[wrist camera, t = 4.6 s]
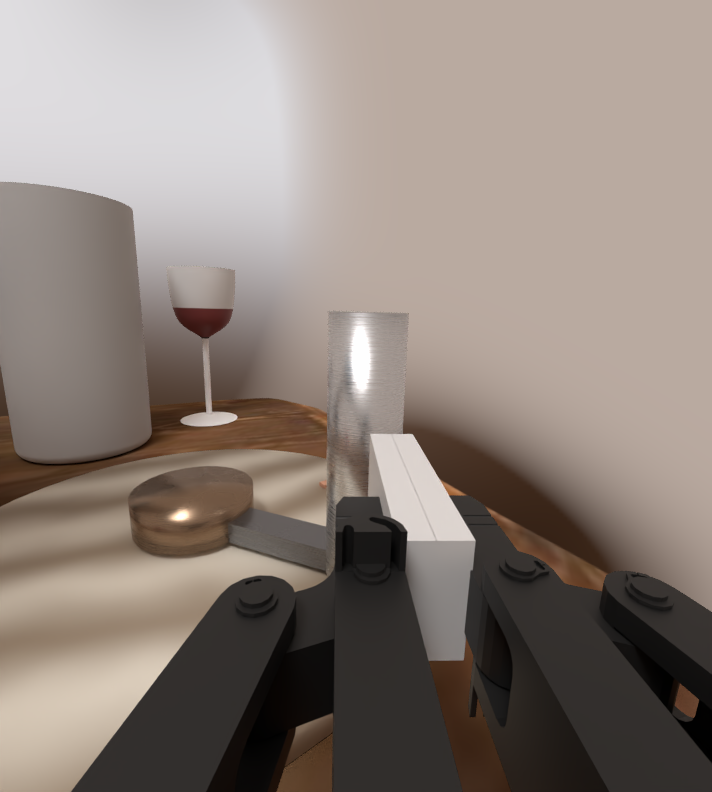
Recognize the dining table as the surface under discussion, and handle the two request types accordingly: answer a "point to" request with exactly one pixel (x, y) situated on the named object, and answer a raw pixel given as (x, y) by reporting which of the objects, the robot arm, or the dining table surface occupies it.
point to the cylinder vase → (71, 325)
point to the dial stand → (118, 606)
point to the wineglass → (203, 319)
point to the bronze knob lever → (346, 458)
